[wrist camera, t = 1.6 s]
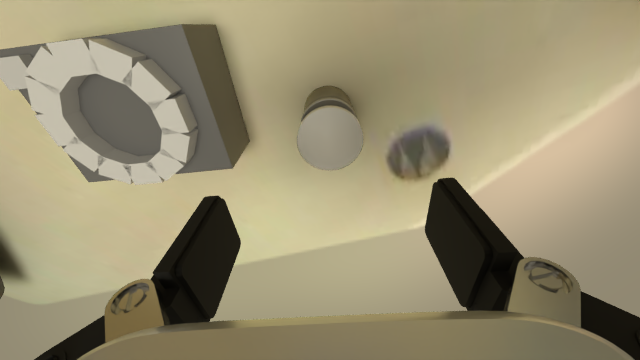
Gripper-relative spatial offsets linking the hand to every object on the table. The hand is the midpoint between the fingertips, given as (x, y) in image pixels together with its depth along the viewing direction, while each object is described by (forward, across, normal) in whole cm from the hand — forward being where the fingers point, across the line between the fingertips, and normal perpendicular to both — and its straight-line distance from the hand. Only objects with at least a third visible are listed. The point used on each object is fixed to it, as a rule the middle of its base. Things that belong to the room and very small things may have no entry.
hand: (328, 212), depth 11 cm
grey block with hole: (+16, +16, -3) cm, 23 cm away
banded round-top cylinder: (+16, 0, 0) cm, 16 cm away
